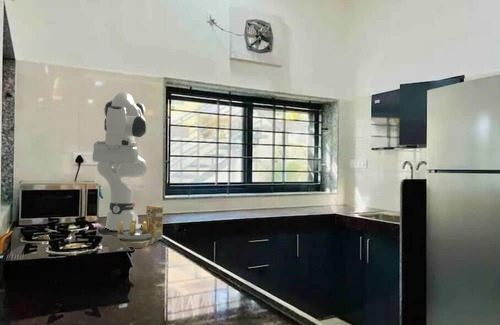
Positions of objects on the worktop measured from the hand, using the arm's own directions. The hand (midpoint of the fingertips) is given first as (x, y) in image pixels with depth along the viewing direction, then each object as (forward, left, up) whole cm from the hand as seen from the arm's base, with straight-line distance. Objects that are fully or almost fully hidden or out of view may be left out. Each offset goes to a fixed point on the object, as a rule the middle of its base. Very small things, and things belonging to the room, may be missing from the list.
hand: (114, 172), depth 174 cm
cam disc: (+2, +11, -28) cm, 31 cm away
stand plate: (+3, +11, -31) cm, 33 cm away
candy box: (-11, +15, -31) cm, 36 cm away
